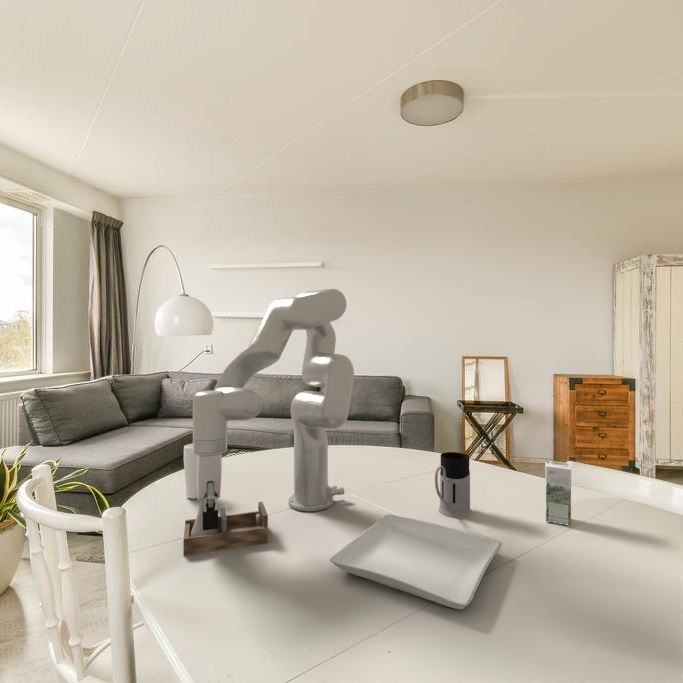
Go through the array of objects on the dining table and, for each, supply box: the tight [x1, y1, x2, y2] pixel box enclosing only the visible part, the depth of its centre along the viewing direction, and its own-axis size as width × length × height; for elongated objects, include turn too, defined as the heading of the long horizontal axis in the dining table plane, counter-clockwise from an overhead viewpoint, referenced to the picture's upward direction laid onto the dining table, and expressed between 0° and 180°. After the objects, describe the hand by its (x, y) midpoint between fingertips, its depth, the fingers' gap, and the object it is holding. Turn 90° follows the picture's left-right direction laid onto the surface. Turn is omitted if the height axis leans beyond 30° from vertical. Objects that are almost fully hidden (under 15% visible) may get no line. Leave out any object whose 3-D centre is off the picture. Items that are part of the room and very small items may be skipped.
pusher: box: [220, 505, 227, 533], centre depth 98 cm, size 1×8×5 cm, turn 19°
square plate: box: [329, 513, 503, 610], centre depth 87 cm, size 27×27×4 cm
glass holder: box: [434, 451, 473, 519], centre depth 112 cm, size 9×14×15 cm, turn 137°
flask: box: [190, 496, 221, 537], centre depth 96 cm, size 7×7×10 cm
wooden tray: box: [182, 501, 269, 556], centre depth 98 cm, size 18×10×6 cm, turn 108°
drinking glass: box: [183, 442, 198, 500], centre depth 125 cm, size 7×7×15 cm
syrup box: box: [544, 460, 572, 525], centre depth 108 cm, size 6×6×14 cm
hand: (210, 520), depth 97 cm, fingers open, 9 cm apart
